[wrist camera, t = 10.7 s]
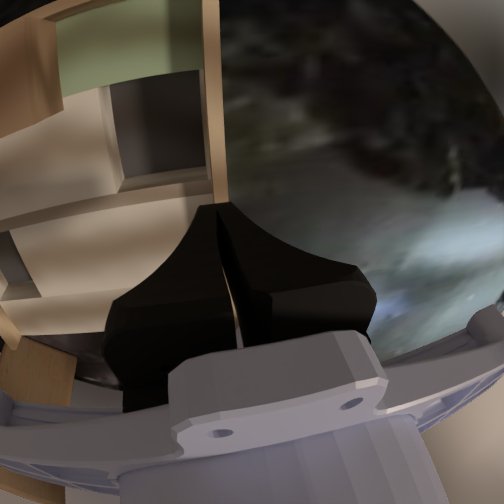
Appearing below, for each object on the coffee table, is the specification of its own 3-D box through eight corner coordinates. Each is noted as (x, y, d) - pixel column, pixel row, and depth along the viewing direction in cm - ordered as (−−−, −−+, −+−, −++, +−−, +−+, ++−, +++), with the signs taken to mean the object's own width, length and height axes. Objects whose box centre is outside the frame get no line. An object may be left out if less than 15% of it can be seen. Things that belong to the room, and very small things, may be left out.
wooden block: (13, 364, 30) (-8, 485, 14) (9, 327, 26) (-25, 476, 10) (70, 386, 34) (63, 509, 19) (78, 355, 30) (65, 509, 14)
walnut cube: (64, 110, 13) (34, 124, 10) (-6, 136, 12) (-39, 157, 9) (55, 21, 10) (24, 15, 6) (-16, 57, 9) (-53, 64, 6)
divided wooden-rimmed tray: (230, 293, 28) (238, 333, 24) (24, 315, 25) (11, 349, 21) (211, -11, 13) (218, -34, 9) (-59, 89, 9) (-95, 103, 6)
